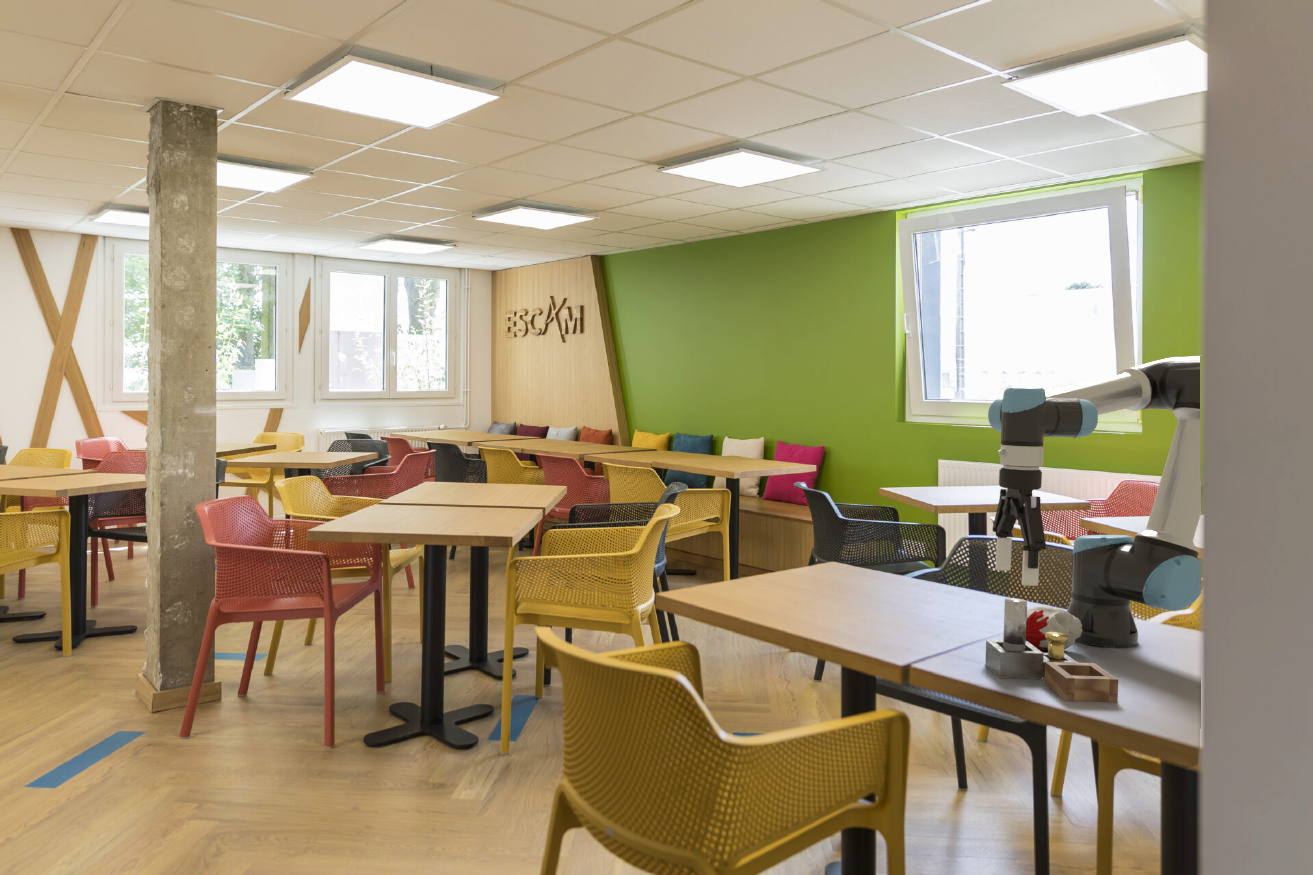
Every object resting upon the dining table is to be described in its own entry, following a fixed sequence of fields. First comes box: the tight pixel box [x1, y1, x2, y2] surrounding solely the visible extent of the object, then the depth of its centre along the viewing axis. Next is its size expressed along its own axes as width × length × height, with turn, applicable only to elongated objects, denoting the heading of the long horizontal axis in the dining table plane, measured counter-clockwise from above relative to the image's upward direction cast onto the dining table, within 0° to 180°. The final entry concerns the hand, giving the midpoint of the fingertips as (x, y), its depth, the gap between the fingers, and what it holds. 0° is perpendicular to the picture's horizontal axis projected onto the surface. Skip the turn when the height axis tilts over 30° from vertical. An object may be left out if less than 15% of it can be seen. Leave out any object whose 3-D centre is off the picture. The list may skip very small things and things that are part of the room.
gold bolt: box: [1045, 632, 1068, 661], centre depth 165 cm, size 4×4×7 cm
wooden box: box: [1044, 662, 1119, 703], centre depth 154 cm, size 9×9×4 cm
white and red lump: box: [1026, 605, 1082, 651], centre depth 181 cm, size 9×11×15 cm
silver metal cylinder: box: [1002, 598, 1028, 651], centre depth 165 cm, size 4×4×14 cm
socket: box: [984, 639, 1079, 680], centre depth 165 cm, size 15×8×5 cm, turn 88°
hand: (1015, 577), depth 164 cm, fingers open, 13 cm apart
